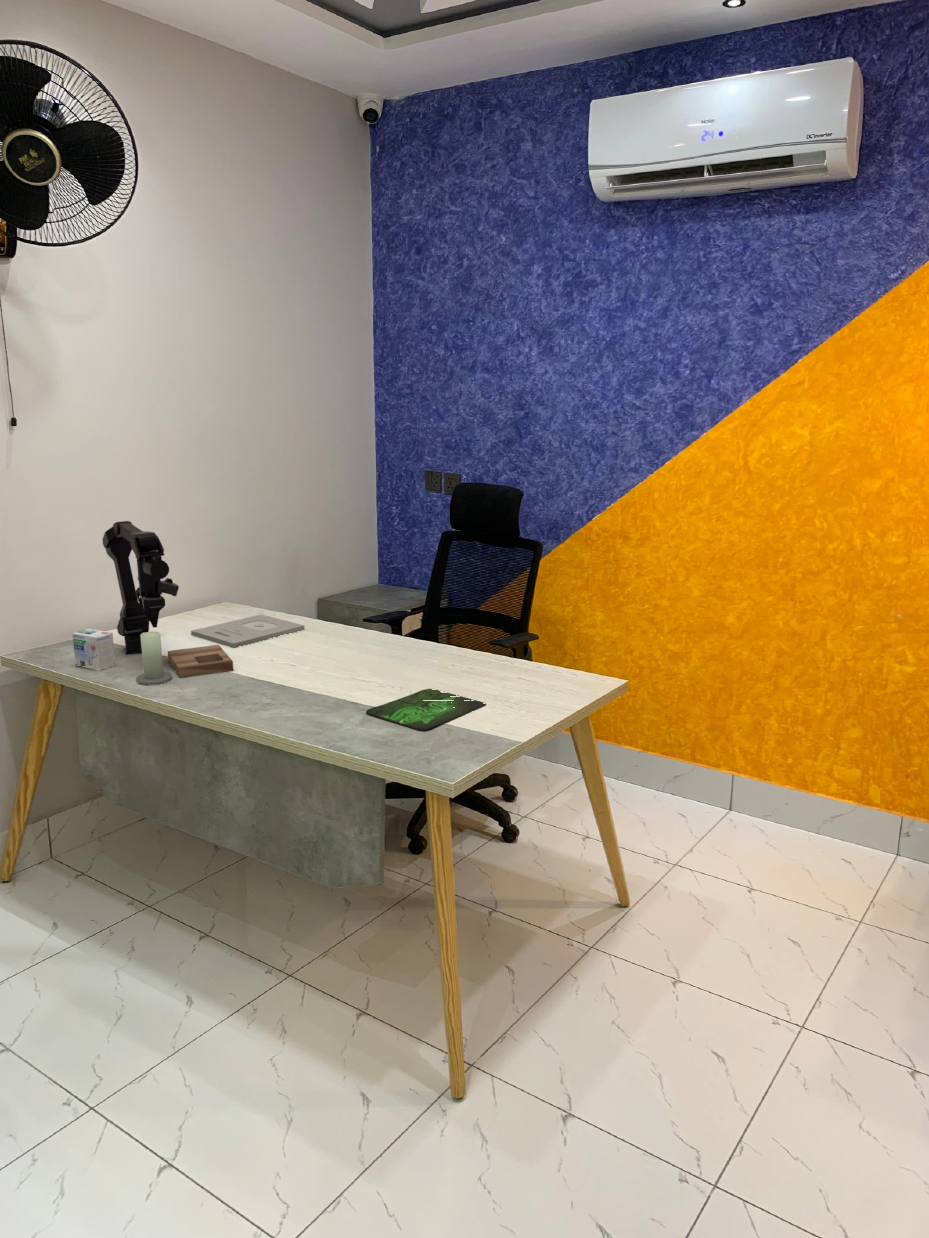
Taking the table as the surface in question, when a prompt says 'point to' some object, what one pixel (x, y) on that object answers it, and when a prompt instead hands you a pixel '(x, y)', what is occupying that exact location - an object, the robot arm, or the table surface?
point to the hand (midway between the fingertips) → (152, 623)
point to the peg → (152, 655)
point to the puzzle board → (200, 661)
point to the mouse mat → (425, 709)
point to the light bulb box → (94, 648)
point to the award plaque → (247, 630)
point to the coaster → (142, 680)
